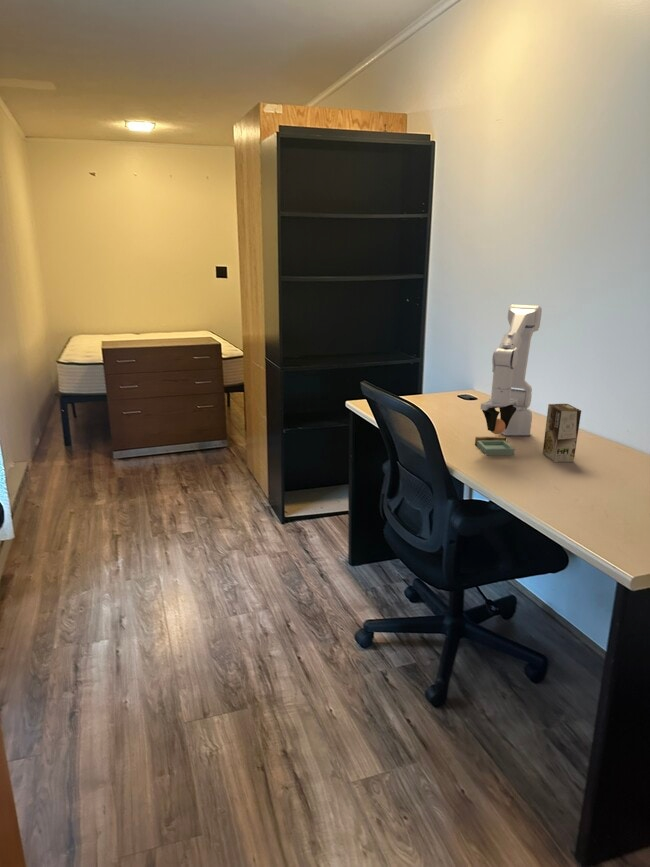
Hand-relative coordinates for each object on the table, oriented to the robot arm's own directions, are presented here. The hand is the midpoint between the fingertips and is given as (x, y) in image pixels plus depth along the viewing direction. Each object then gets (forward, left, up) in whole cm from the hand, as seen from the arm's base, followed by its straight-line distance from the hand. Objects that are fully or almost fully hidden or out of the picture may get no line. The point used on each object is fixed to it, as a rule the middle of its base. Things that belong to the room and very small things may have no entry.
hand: (497, 429), depth 187 cm
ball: (0, 0, -2) cm, 2 cm away
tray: (0, 0, -7) cm, 7 cm away
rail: (-1, -6, -7) cm, 9 cm away
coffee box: (-18, +7, -7) cm, 20 cm away
